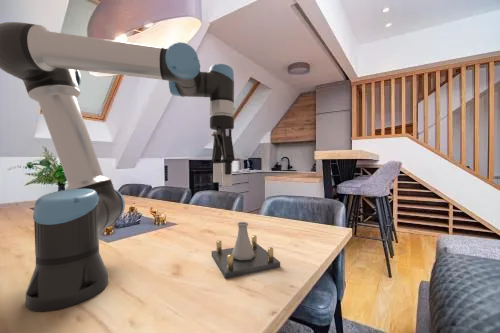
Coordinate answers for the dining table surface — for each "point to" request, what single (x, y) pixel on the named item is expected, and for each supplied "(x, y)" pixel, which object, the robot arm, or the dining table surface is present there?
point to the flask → (243, 244)
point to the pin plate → (243, 267)
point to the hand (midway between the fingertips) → (221, 184)
